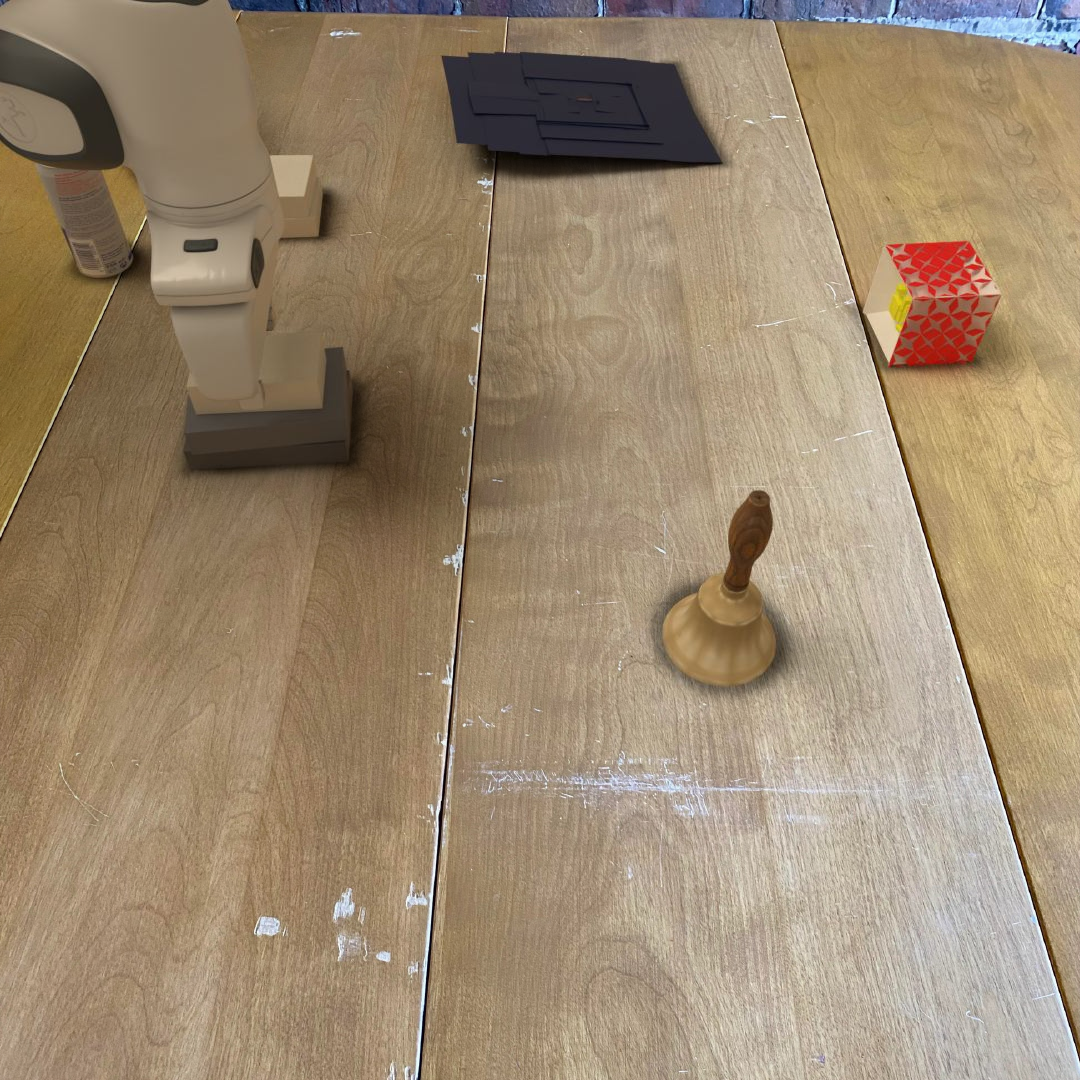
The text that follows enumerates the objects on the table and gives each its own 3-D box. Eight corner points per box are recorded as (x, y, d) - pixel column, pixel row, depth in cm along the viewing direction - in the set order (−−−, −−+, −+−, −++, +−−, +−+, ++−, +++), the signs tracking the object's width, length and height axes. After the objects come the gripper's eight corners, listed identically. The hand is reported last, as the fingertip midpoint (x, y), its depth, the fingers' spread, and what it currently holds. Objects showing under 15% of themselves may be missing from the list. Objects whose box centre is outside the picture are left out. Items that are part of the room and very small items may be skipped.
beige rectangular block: (196, 415, 79) (186, 386, 77) (206, 365, 83) (196, 336, 80) (322, 408, 80) (316, 380, 77) (326, 359, 83) (320, 331, 81)
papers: (438, 70, 123) (440, 40, 120) (668, 84, 129) (675, 55, 126) (456, 176, 108) (458, 144, 105) (716, 186, 114) (725, 156, 111)
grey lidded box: (190, 477, 82) (173, 433, 78) (205, 397, 88) (190, 353, 84) (353, 468, 82) (344, 425, 78) (357, 389, 88) (350, 346, 84)
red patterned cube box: (861, 314, 96) (884, 244, 90) (940, 310, 96) (968, 240, 90) (887, 370, 91) (913, 299, 84) (970, 365, 91) (1002, 294, 85)
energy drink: (110, 242, 102) (68, 132, 93) (145, 260, 100) (105, 150, 91) (67, 268, 99) (19, 156, 90) (102, 287, 97) (57, 175, 88)
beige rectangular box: (199, 243, 102) (186, 200, 98) (210, 198, 107) (198, 155, 103) (318, 239, 103) (310, 195, 99) (323, 194, 108) (315, 151, 104)
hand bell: (800, 654, 71) (857, 509, 59) (710, 709, 68) (750, 569, 56) (726, 576, 76) (765, 426, 63) (638, 625, 73) (661, 477, 60)
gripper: (191, 134, 75) (234, 285, 86) (145, 302, 62) (203, 456, 73) (275, 131, 75) (308, 282, 86) (247, 297, 62) (290, 451, 73)
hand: (260, 363), depth 79 cm, fingers open, 8 cm apart
